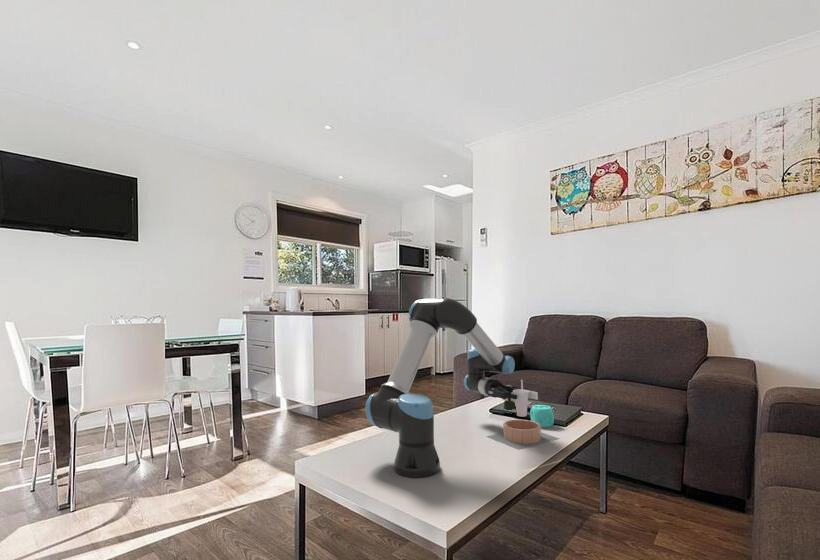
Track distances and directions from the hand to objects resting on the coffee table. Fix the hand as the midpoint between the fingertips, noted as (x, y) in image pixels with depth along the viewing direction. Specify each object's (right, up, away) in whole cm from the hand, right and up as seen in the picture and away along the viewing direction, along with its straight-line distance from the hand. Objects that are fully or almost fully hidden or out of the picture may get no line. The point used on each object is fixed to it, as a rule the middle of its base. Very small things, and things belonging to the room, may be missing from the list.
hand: (530, 397), depth 161 cm
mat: (-2, -17, +3) cm, 18 cm away
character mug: (+2, -19, +40) cm, 45 cm away
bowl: (-2, -17, +3) cm, 17 cm away
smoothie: (-2, -8, +4) cm, 10 cm away
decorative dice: (+11, -18, +20) cm, 29 cm away
